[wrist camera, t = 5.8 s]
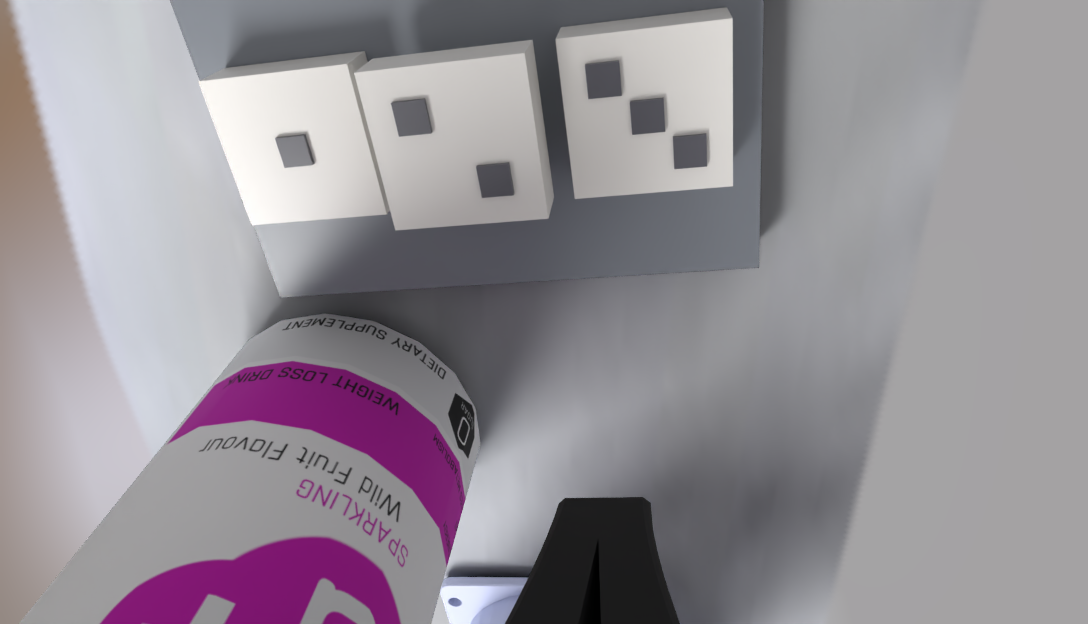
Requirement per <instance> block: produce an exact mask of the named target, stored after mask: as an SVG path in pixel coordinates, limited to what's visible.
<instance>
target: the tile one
mask: <svg viewBox="0 0 1088 624" xmlns="http://www.w3.org/2000/svg"><path fill="white" fill-rule="evenodd" d="M367 62H368V61H367V58H366V54H365V51H361V52H353V53H345V54H336V55H328V56H320V57H312V58H303V59H295V60H287V61H278V62H270V63H262V64H254V65H245V66H237V67H229V68H223V69H221V70H220V71H218V72H216V73H214V74H212V75H210V76H208V77H206V78H204V79H202V80H200V81H198V82H199V85H200V88H201V90H202V93H203V96H204V99H205V101H206V104H207V107H208V109H209V112H210V115H211V117H212V120H213V123H214V125H215V128H216V131H217V133H218V136H219V139H220V142H221V144H222V147H223V150H224V152H225V155H226V158H227V160H228V163H229V166H230V168H231V171H232V174H233V176H234V179H235V182H236V185H237V187H238V190H239V193H240V195H241V198H242V201H243V203H244V206H245V209H246V211H247V214H248V217H249V219H250V222H251V225H262V224H274V223H287V222H299V221H312V220H324V219H336V218H349V217H361V216H374V215H386V214H388V212H389V211H390V208H389V204H388V201H387V197H386V193H385V189H384V185H383V181H382V178H381V174H380V170H379V166H378V162H377V159H376V155H375V151H374V147H373V143H372V140H371V136H370V132H369V128H368V124H367V121H366V117H365V113H364V109H363V105H362V102H361V98H360V94H359V90H358V86H357V83H356V79H355V75H354V72H356V71H357V70H358V69H360V68H361V67H362V66H364V65H365V64H366V63H367Z"/></svg>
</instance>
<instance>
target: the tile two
mask: <svg viewBox="0 0 1088 624" xmlns="http://www.w3.org/2000/svg"><path fill="white" fill-rule="evenodd" d="M354 75H355V79H356V83H357V86H358V90H359V94H360V98H361V102H362V105H363V109H364V113H365V117H366V121H367V124H368V128H369V132H370V136H371V140H372V143H373V147H374V151H375V155H376V159H377V162H378V166H379V170H380V174H381V178H382V181H383V185H384V189H385V193H386V197H387V201H388V204H389V208H390V212H391V216H392V220H393V223H394V227H395V230H408V229H421V228H434V227H447V226H460V225H473V224H486V223H499V222H512V221H525V220H538V219H548V218H549V215H550V211H551V207H552V203H553V199H554V192H553V185H552V178H551V170H550V163H549V156H548V148H547V141H546V134H545V127H544V119H543V112H542V105H541V97H540V90H539V83H538V75H537V68H536V61H535V54H534V46H533V40H525V41H517V42H508V43H500V44H492V45H483V46H475V47H466V48H458V49H450V50H441V51H433V52H424V53H416V54H407V55H399V56H391V57H382V58H374V59H371V60H370V61H369V62H367V63H366V64H365V65H364V66H362V67H361V68H360V69H358V70H357V71H356V72H354Z"/></svg>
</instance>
